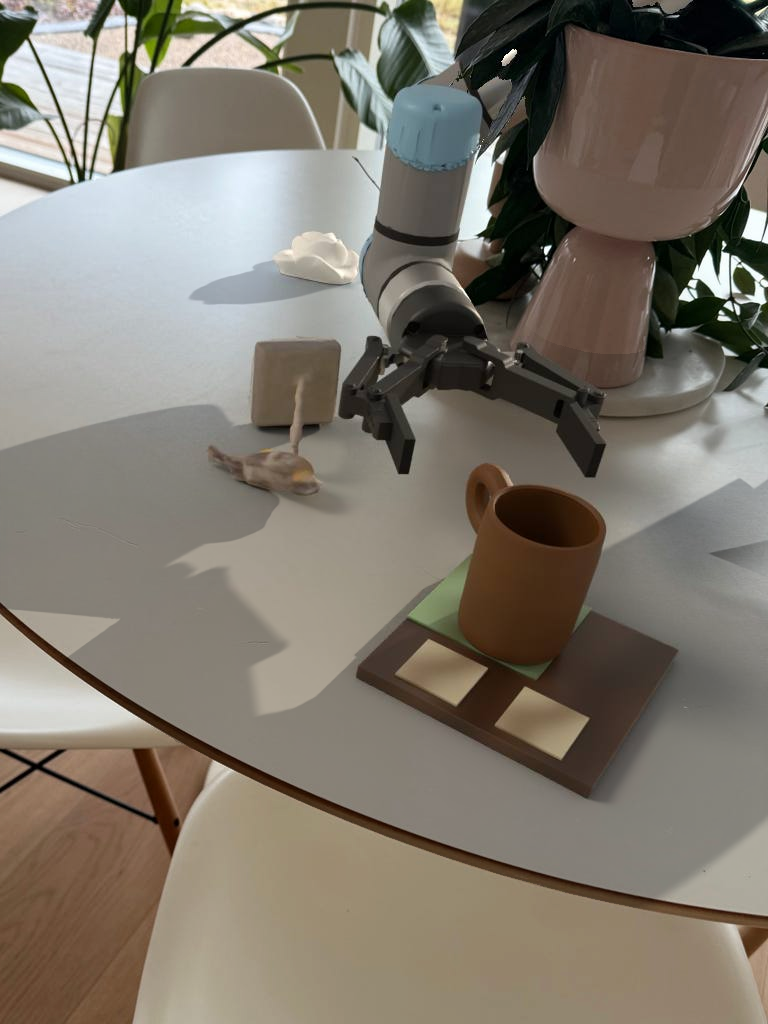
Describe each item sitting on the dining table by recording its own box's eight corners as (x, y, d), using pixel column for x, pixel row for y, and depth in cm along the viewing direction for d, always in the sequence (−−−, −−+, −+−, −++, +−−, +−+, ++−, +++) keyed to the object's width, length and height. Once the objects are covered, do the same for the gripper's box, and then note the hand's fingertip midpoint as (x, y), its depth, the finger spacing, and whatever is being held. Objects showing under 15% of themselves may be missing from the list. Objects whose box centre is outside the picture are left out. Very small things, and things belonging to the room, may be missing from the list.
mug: (405, 569, 74) (430, 453, 68) (497, 554, 77) (529, 441, 71) (490, 679, 66) (527, 559, 60) (589, 658, 68) (634, 541, 62)
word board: (674, 660, 71) (680, 647, 70) (587, 799, 60) (593, 785, 60) (467, 566, 77) (470, 553, 76) (355, 677, 66) (358, 663, 66)
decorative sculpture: (317, 512, 81) (329, 428, 76) (194, 493, 81) (199, 408, 76) (335, 414, 93) (346, 337, 88) (228, 398, 93) (234, 320, 89)
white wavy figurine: (299, 250, 111) (260, 218, 117) (295, 291, 114) (257, 258, 120) (379, 244, 115) (337, 213, 121) (373, 283, 118) (332, 251, 124)
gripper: (560, 373, 92) (653, 507, 76) (280, 363, 88) (318, 502, 72) (584, 290, 87) (689, 414, 71) (289, 276, 83) (331, 404, 67)
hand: (502, 459), depth 71 cm, fingers open, 13 cm apart
